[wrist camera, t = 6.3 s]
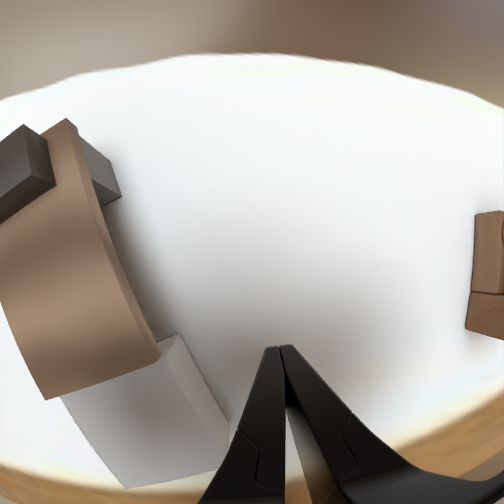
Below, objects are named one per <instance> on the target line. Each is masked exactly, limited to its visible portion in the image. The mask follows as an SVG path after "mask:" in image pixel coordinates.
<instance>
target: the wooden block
mask: <svg viewBox="0 0 504 504" xmlns="http://www.w3.org/2000/svg"><path fill="white" fill-rule="evenodd" d="M471 288H472V290H473V291H474V292H472V293H471V295H470V301H469V308H468V314H467V320H466V329H467V330H470V331H473V332H477V333H480V334H483V335H487V336H490V337H494V338H497V339H501V340H504V212H503V211H493V212H487V213H481V214H477V215H476V227H475V253H474V267H473V278H472V287H471Z"/></svg>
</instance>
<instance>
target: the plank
mask: <svg viewBox="0 0 504 504" xmlns="http://www.w3.org/2000/svg"><path fill="white" fill-rule="evenodd" d="M0 302H1V305H2V307H3V310H4V313H5V316H6V318H7V321H8V324H9V326H10V329H11V331H12V334H13V336H14V338H15V341H16V343H17V345H18V348H19V350H20V352H21V354H22V356H23V358H24V361H25V363H26V365H27V367H28V369H29V371H30V373H31V375H32V377H33V379H34V381H35V383H36V384H37V386H38V388H39V390H40V392H41V394H42V395H43V397H44V399H45V400H49V399H52V398H55V397H58V396H62V395H65V394H68V393H71V392H74V391H77V390H80V389H84V388H87V387H90V386H93V385H96V384H98V383H101V382H104V381H107V380H110V379H113V378H116V377H119V376H121V375H124V374H127V373H130V372H132V371H135V370H138V369H141V368H143V367H146V366H149V365H151V364H154V363H156V362H157V361H158V359H159V358H160V356H161V354H162V352H161V350H160V348H159V346H158V344H157V342H156V340H155V338H154V336H153V334H152V332H151V330H150V328H149V326H148V324H147V322H146V319H145V317H144V315H143V313H142V311H141V309H140V307H139V304H138V302H137V300H136V298H135V296H134V293H133V291H132V289H131V286H130V284H129V282H128V279H127V277H126V275H125V272H124V270H123V267H122V265H121V263H120V260H119V258H118V255H117V252H116V250H115V247H114V245H113V242H112V239H111V237H110V234H109V231H108V229H107V226H106V223H105V220H104V217H103V214H102V212H101V209H100V206H99V203H98V200H97V197H96V193H95V190H94V187H93V184H92V181H91V177H90V174H89V171H88V167H87V164H86V160H85V157H84V153H83V149H82V146H81V142H80V138H79V134H78V130H77V127H76V126H75V125H74V124H72V123H71V122H70V121H69V120H68V119H67V118H65V119H64V120H62V121H60V122H59V123H57V124H56V125H54V126H52V127H51V128H49V129H48V130H46V131H45V132H43V133H42V134H40V135H39V134H37V133H36V132H34V131H33V130H31V129H30V128H28V127H27V126H25V125H24V124H23V125H21V126H20V127H19V128H17V129H16V130H15V131H13V132H12V133H11V134H10V135H8V136H7V137H6V138H5V139H3V140H2V141H1V142H0Z"/></svg>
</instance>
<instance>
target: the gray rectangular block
mask: <svg viewBox="0 0 504 504" xmlns="http://www.w3.org/2000/svg"><path fill="white" fill-rule="evenodd" d="M79 138H80V142H81V146H82V149H83V153H84V157H85V160H86V164H87V167H88V171H89V174H90V177H91V181H92V184H93V187H94V190H95V193H96V197H97V200H98V203H99V206H100V208H101V207H102V206H104V205H106V204H108V203H110V202H112V201H114V200H116V199H118V198H120V197H122V195H121V192H120V190H119V187H118V184H117V181H116V178H115V175H114V172H113V169H112V166H111V163H110V161H109V160H108V159H107V158H106V157H104V156H103V155H102V154H101V153H100V152H98V151H97V150H96V149H95V148H93V147H92V146H91V145H90V144H89V143H87V142H86V141H85V140H84V139H83V138H81V137H80V136H79ZM157 344H158V346H159V348H160V350H161V352H162V354H161V356H160V358H159V359H158V361H157V362H156V363H154V364H151V365H149V366H146V367H143V368H141V369H138V370H135V371H132V372H130V373H127V374H124V375H121V376H119V377H116V378H113V379H110V380H107V381H104V382H101V383H98V384H96V385H93V386H90V387H87V388H84V389H80V390H77V391H74V392H71V393H68V394H65V395H62V396H60V398H61V400H62V401H63V403H64V405H65V407H66V408H67V410H68V411H69V413H70V415H71V416H72V418H73V419H74V421H75V423H76V424H77V426H78V427H79V429H80V430H81V432H82V433H83V435H84V436H85V438H86V439H87V440H88V442H89V443H90V445H91V446H92V447H93V449H94V450H95V452H96V453H97V454H98V456H99V457H100V458H101V460H102V461H103V462H104V463H105V465H106V466H107V467H108V468H109V470H110V471H111V472H112V473H113V475H114V476H115V477H116V478H117V479H118V481H119V482H120V483H121V484H122V485H123V487H124V488H125V489H127V488H134V487H140V486H146V485H151V484H157V483H162V482H167V481H171V480H176V479H180V478H184V477H188V476H192V475H196V474H200V473H204V472H207V471H211V470H214V469H218V468H220V466H221V464H222V462H223V460H224V458H225V456H226V454H227V452H228V450H229V422H228V421H227V419H226V417H225V416H224V414H223V412H222V410H221V409H220V407H219V405H218V404H217V402H216V400H215V398H214V397H213V395H212V393H211V391H210V389H209V388H208V386H207V384H206V382H205V380H204V379H203V377H202V375H201V373H200V371H199V369H198V367H197V366H196V364H195V362H194V360H193V358H192V356H191V354H190V352H189V350H188V348H187V346H186V344H185V342H184V340H183V338H182V336H181V334H180V333H179V334H176V335H174V336H172V337H169V338H167V339H164V340H162V341H159V342H157Z"/></svg>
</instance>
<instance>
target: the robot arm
mask: <svg viewBox="0 0 504 504" xmlns="http://www.w3.org/2000/svg"><path fill="white" fill-rule="evenodd" d="M286 412H287V416H288V420H289V423H290V427H291V430H292V434H293V437H294V441H295V444H296V448H297V451H298V455H299V458H300V462H301V465H302V468H303V472H304V475H305V479H306V482H307V486H308V489H309V493H310V496H311V499H312V503H313V504H504V470H503V471H501V472H500V473H498V474H497V475H495V476H494V477H492V478H490V479H488V480H484V481H470V480H464V479H459V478H454V477H450V476H445V475H441V474H437V473H432V472H428V471H425V470H422V469H420V468H418V467H416V466H414V465H412V464H411V463H410V462H408V461H407V460H406V459H404V458H403V457H402V456H400V455H399V454H398V453H397V452H395V451H394V450H393V449H392V448H390V447H389V446H388V445H387V444H385V443H384V442H383V441H382V440H381V439H379V438H378V437H377V436H376V435H375V434H374V433H372V432H371V431H370V430H369V429H368V428H367V427H366V426H365V425H364V424H363V423H362V422H361V421H360V420H359V419H358V417H357V416H356V415H355V414H354V413H352V411H351V410H350V409H349V408H348V407H347V406H346V404H345V403H344V402H343V401H342V400H341V399H340V398H339V397H338V396H337V394H336V393H335V392H334V391H333V390H332V389H331V388H330V387H329V386H328V384H327V383H326V382H325V381H324V380H323V379H322V378H321V377H320V375H319V374H318V373H317V372H316V371H315V370H314V369H313V368H312V366H311V365H310V364H309V363H308V362H307V361H306V360H305V358H304V357H303V356H302V355H301V354H300V353H299V352H298V351H297V349H296V348H295V347H294V346H293V345H292V344H286V345H280V346H279V347H278V346H269V347H266V348H265V350H264V353H263V356H262V359H261V362H260V365H259V368H258V371H257V374H256V377H255V380H254V383H253V386H252V389H251V391H250V394H249V397H248V400H247V403H246V406H245V408H244V411H243V414H242V417H241V419H240V422H239V425H238V428H237V429H238V430H236V433H235V435H234V438H233V441H232V443H231V445H230V448H229V450H228V452H227V454H226V456H225V458H224V460H223V462H222V464H221V466H220V468H219V469H218V471H217V473H216V474H215V476H214V478H213V479H212V481H211V483H210V484H209V486H208V488H207V489H206V491H205V493H204V494H203V496H202V497H201V499H200V500H199V502H198V503H197V504H284V503H285V439H286Z"/></svg>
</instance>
